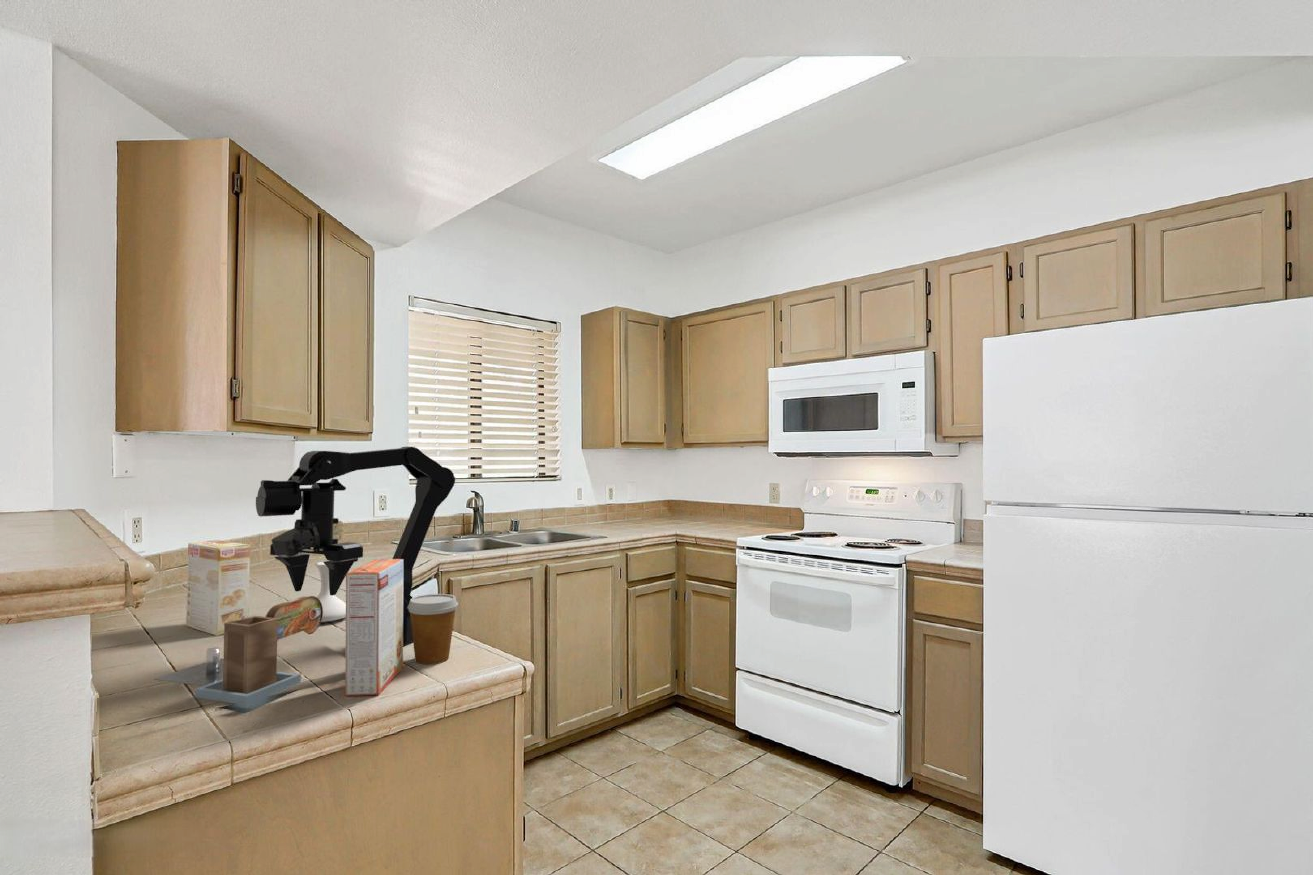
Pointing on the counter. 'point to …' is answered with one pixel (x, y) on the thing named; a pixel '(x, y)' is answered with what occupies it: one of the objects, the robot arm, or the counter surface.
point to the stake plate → (200, 671)
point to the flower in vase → (330, 604)
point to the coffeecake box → (217, 584)
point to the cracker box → (373, 626)
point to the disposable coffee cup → (432, 626)
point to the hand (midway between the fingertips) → (315, 593)
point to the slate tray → (252, 699)
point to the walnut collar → (250, 654)
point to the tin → (297, 616)
